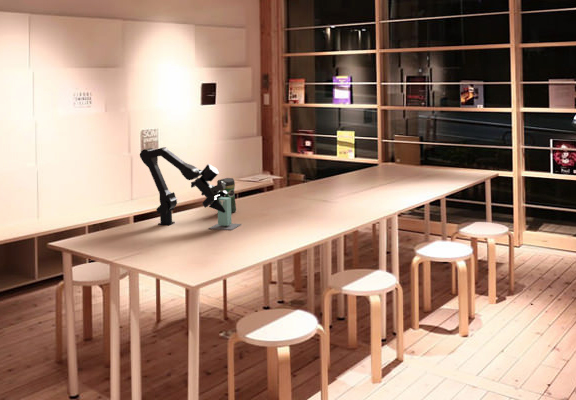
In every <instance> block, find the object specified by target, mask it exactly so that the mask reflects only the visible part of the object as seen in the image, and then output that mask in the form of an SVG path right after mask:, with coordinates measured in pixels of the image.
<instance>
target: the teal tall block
mask: <svg viewBox="0 0 576 400" xmlns="http://www.w3.org/2000/svg"><path fill="white" fill-rule="evenodd" d="M219 203H220V204H221V206H222V207H223V208H224V210H225V213H223V212H221V211H218V210H217V224H218V225H223V226H228V225H230V224H233V223H232V213H231V198H229V197H221V198H219Z"/></svg>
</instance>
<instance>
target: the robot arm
mask: <svg viewBox="0 0 576 400" xmlns="http://www.w3.org/2000/svg"><path fill="white" fill-rule="evenodd" d="M139 157H140V160H141V161H142V162H143V164H144V165H145V166H146V167H147V168H148V170H149V172H150V175H151V177H152V179H153V182H154V184H155V186H156V189H157V191H158V194H159V203H160V204H159V206H158V207H156V212H157V214H159V217H160V219H159V220H160V221H159V222H158V223H157V225H159V226H160V225H161V226H170V225H173V224H175V221H173V213H172V212H173V211H174V210H175V208H176V206H177V204H178V198H177V197H176V194H175V192H174V191H173V192H171V191H170V190H169V188H168V185H167V183H166V181H165V179H164V176H163V174H162V171H161V169H160V167H159V164H158V162H159V161H158V160H159V159H158V158H159V157H162V158H163V159H164V160H166V161H167V162H168V163H170V164H171V165H172V166H173V167H175V168H176V169H178V170H179V172H180V173H181V175H182V176H183V177H184V179H186V180H187V181H191V182H190V188H191V189H192V188H195V187H196V188H197V189H198V191H200V193H201V196H204V197H205V199H204V200H203V201H202V206H203V207H204V208H210V209H214V210H216V211H217V212H218V211H221V212H223V213H225V210H224V208H223V207H222V206H221V204H220V203H219V198H221V197H226V194H227V193H228V192H227V191H226V190H223V189H225V188H226V183H224V182H223V181H221V182H219V183H218V185H217V184H216V185H214V184H211V183H209V182H212V181H213V180H214V179H215V178H217V176H218V174H220V172H219V169H218V168H217V167H215V166H213V165H211V164H210V163H208V164H206V165H205V167H204V168H203V170H202V169H200V168H198V167H196V166H194V165H192V164H190V163H188V162H185V161H184V160H183V159H181V158H180V157H179V156H177V155H175V153H173V152H172V151H170V150H169V148H167V147H160V148H156V149H155V148H152V147H149V148H145V149H142V150H141V151H140V154H139ZM192 180H194V181H192ZM220 190H222V191H220Z"/></svg>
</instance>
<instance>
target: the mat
mask: <svg viewBox="0 0 576 400" xmlns="http://www.w3.org/2000/svg"><path fill="white" fill-rule="evenodd" d="M241 225H242V223H232V224H230V225H228V226H223V225H218V223H216V224H214V225H212V226H210V227H208V230H219V231H221V230H222V231H233V230H235V229H237V228H238V227H240V226H241Z"/></svg>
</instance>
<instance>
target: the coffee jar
mask: <svg viewBox="0 0 576 400" xmlns="http://www.w3.org/2000/svg"><path fill="white" fill-rule="evenodd" d="M221 181H223V182H224V183H226V188H225V189H223V190H226V191H227V192H228V193H227V194H226V197H229V198H231V214H232V213H235V212H236V211H237V204H236V196H235V189H236V188H235V187H236V182H235V179H234V178H233V177H225V178H221V179H218V180H217V181H216V185H218V183H219V182H221ZM220 191H222V190H220Z"/></svg>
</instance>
